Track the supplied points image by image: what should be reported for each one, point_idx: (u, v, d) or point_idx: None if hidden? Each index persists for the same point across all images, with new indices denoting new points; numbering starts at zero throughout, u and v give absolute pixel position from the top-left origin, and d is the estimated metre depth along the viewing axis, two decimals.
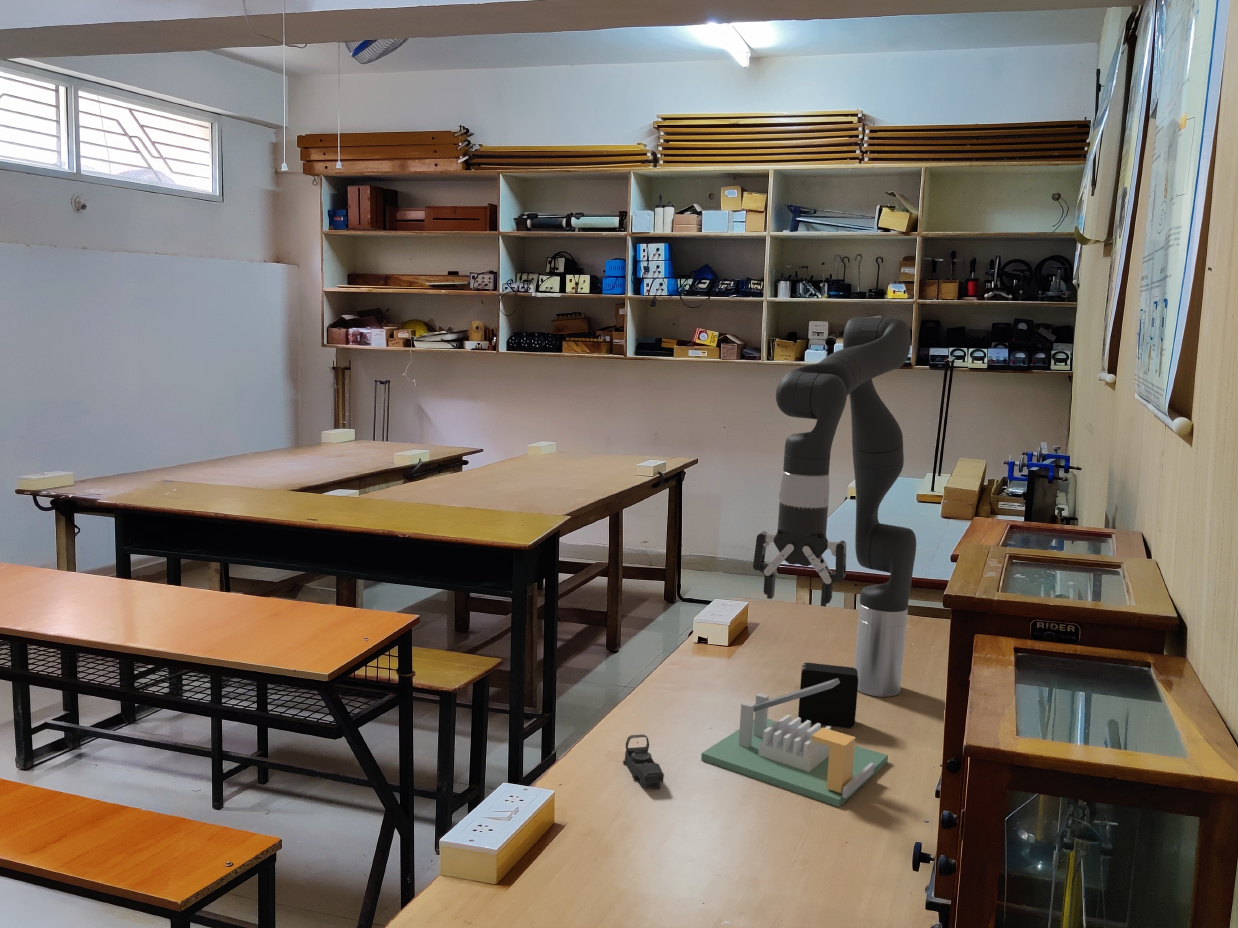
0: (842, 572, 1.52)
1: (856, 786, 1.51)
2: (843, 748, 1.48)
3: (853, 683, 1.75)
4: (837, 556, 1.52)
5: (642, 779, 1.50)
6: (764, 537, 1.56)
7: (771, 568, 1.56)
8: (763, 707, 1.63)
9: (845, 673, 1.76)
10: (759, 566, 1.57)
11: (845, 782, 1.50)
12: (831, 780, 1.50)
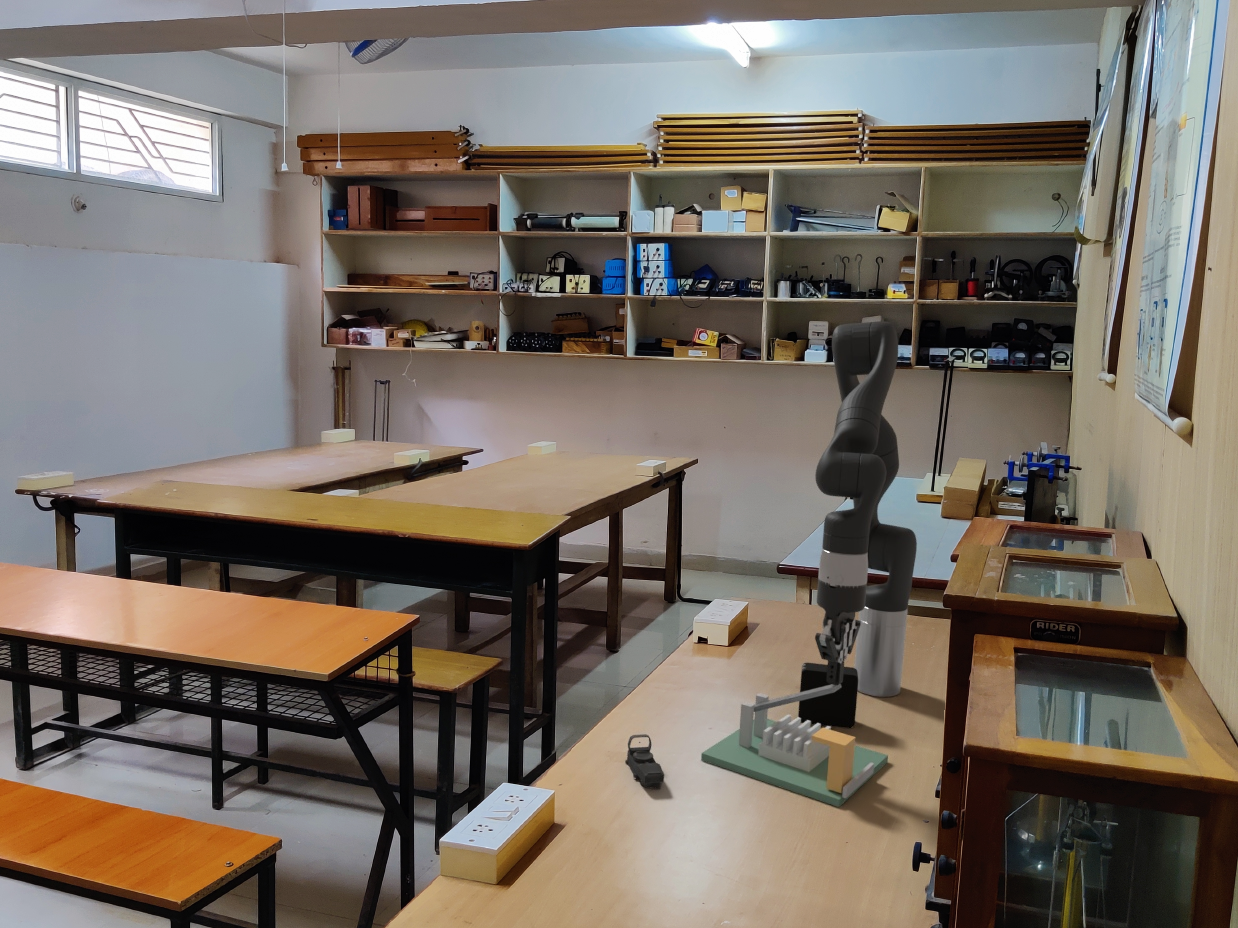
0: (852, 647, 1.59)
1: (856, 786, 1.51)
2: (843, 748, 1.48)
3: (853, 683, 1.75)
4: (856, 631, 1.60)
5: (642, 779, 1.50)
6: (830, 636, 1.52)
7: (841, 654, 1.56)
8: (763, 708, 1.63)
9: (845, 673, 1.76)
10: (838, 657, 1.55)
11: (845, 782, 1.50)
12: (831, 780, 1.50)
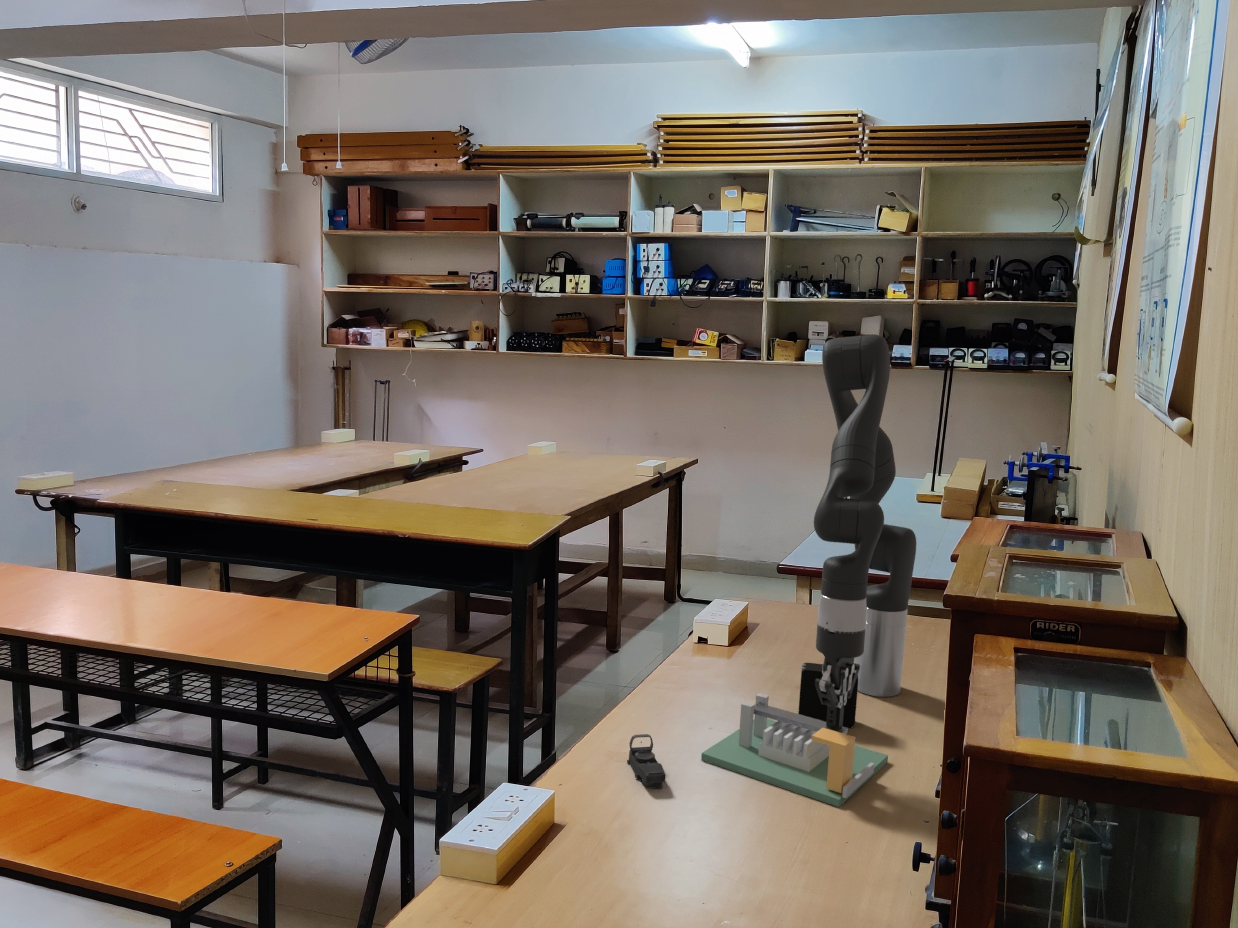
0: (852, 690, 1.60)
1: (856, 786, 1.51)
2: (843, 748, 1.48)
3: None
4: (855, 675, 1.60)
5: (644, 779, 1.50)
6: (829, 681, 1.53)
7: (841, 699, 1.56)
8: (764, 715, 1.63)
9: None
10: (837, 702, 1.55)
11: (845, 782, 1.50)
12: (831, 780, 1.50)
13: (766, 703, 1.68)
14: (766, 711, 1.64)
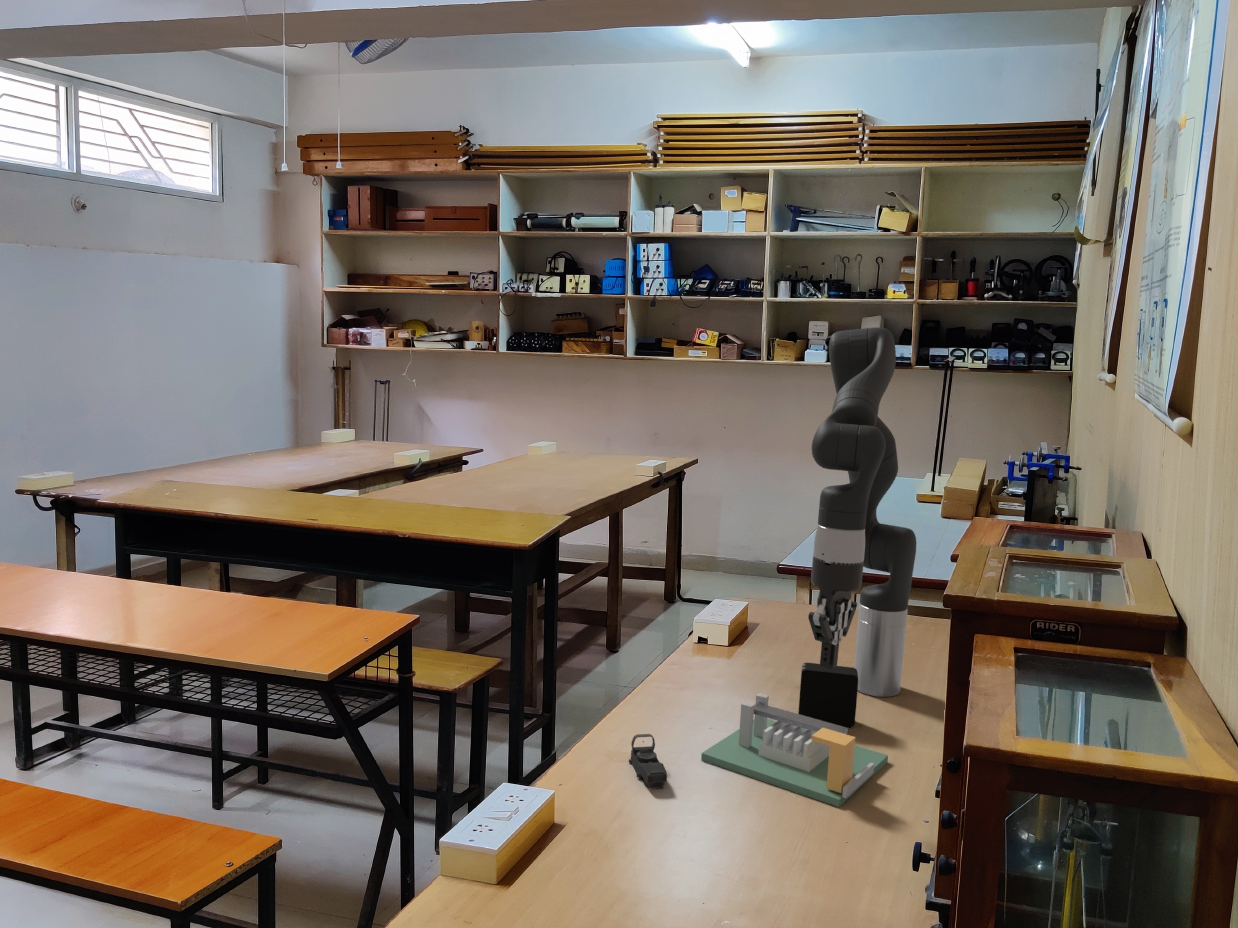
0: (848, 629, 1.52)
1: (856, 786, 1.51)
2: (843, 748, 1.48)
3: (853, 683, 1.75)
4: (852, 612, 1.53)
5: (645, 778, 1.50)
6: (824, 615, 1.45)
7: (836, 635, 1.49)
8: (764, 715, 1.63)
9: (845, 673, 1.76)
10: (832, 638, 1.48)
11: (845, 782, 1.50)
12: (831, 780, 1.50)
13: (766, 703, 1.68)
14: (766, 711, 1.64)
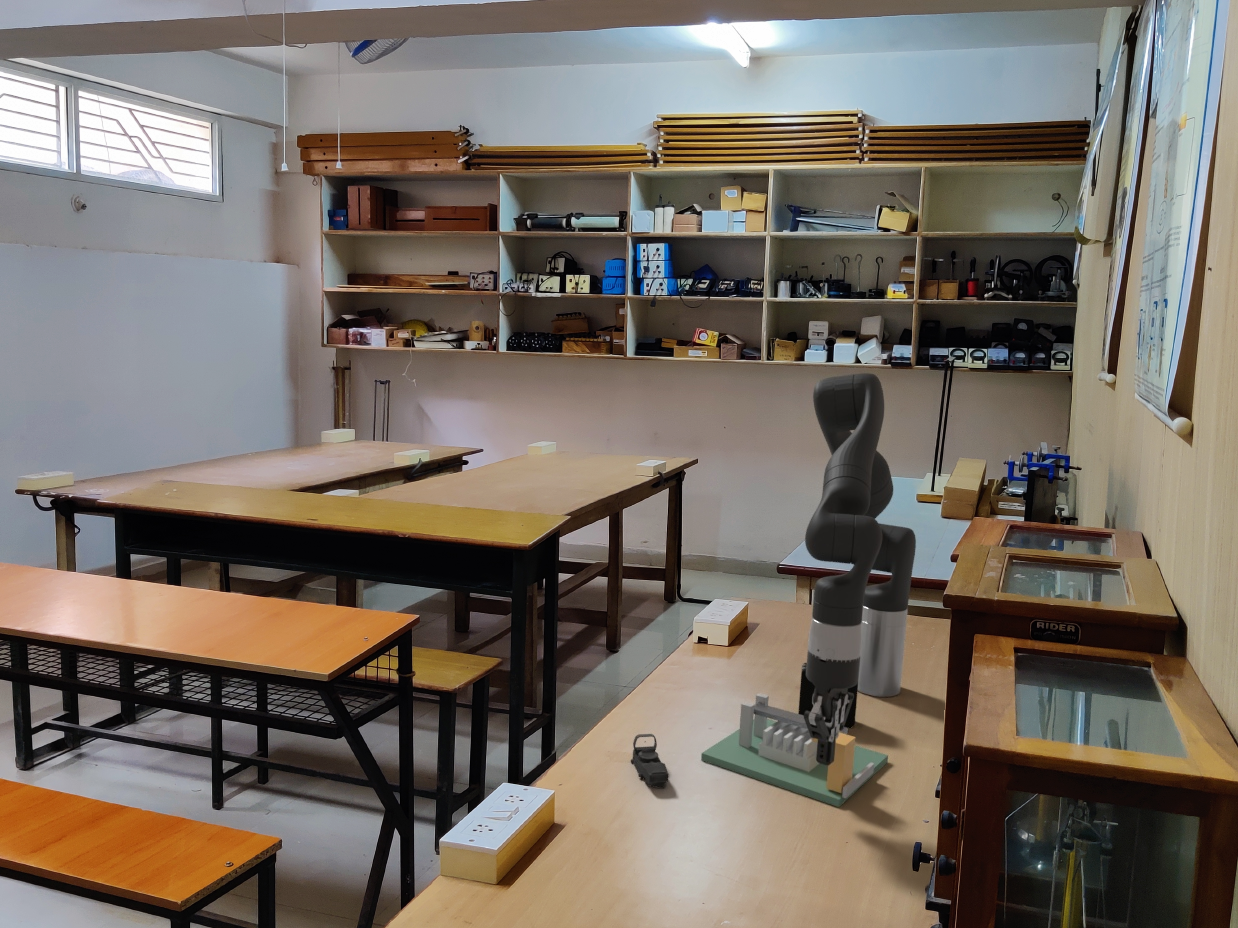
0: (844, 722, 1.47)
1: (856, 786, 1.51)
2: (843, 748, 1.48)
3: None
4: (848, 705, 1.47)
5: (647, 778, 1.50)
6: (820, 714, 1.39)
7: (832, 732, 1.43)
8: (764, 715, 1.63)
9: None
10: (828, 736, 1.42)
11: (845, 782, 1.50)
12: (831, 780, 1.50)
13: (766, 703, 1.68)
14: (766, 711, 1.64)
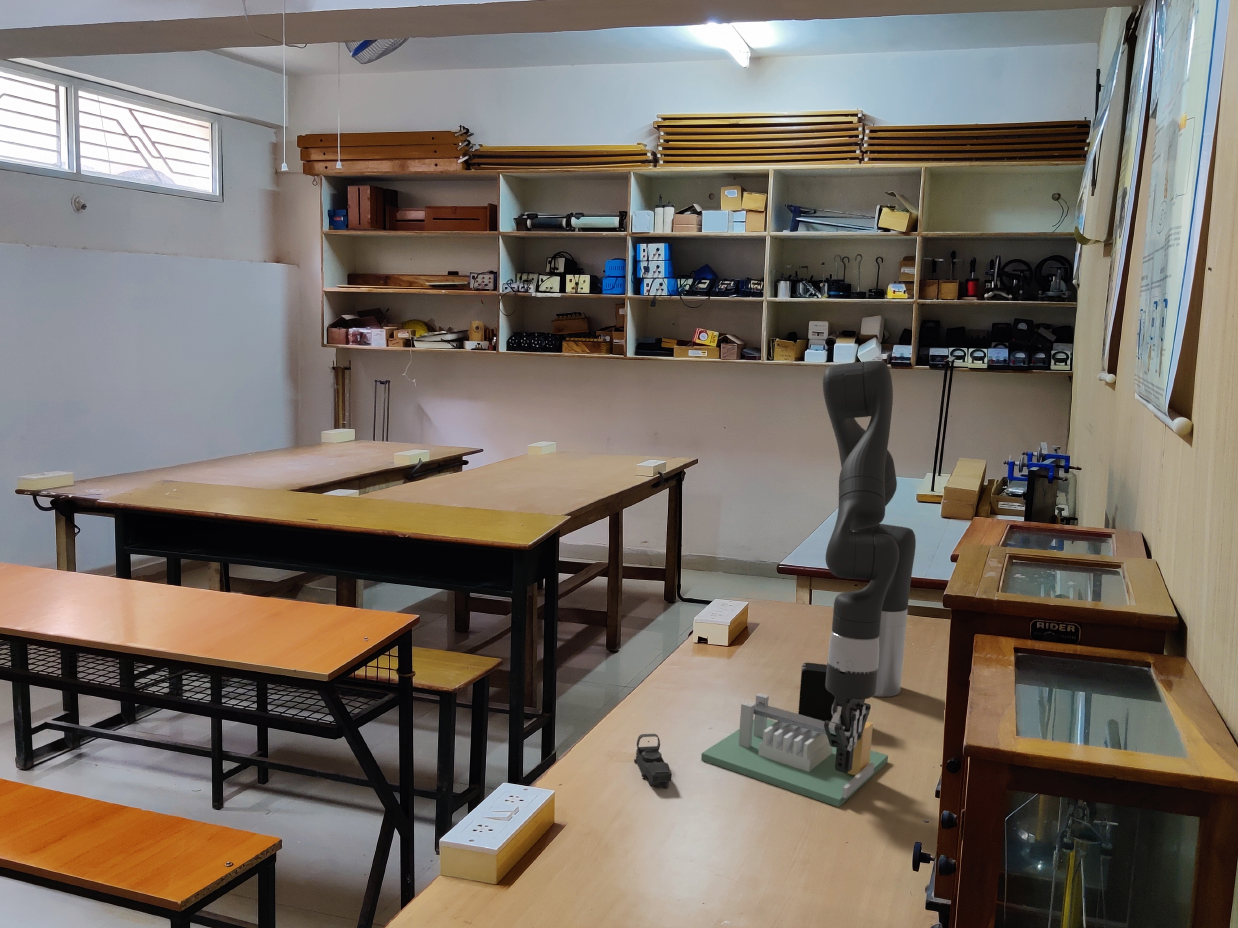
0: (862, 732, 1.53)
1: (856, 786, 1.51)
2: None
3: None
4: (865, 715, 1.54)
5: (650, 778, 1.51)
6: (839, 724, 1.46)
7: (851, 741, 1.50)
8: (764, 715, 1.63)
9: None
10: (847, 744, 1.49)
11: (863, 766, 1.55)
12: None
13: (766, 703, 1.68)
14: (766, 711, 1.64)
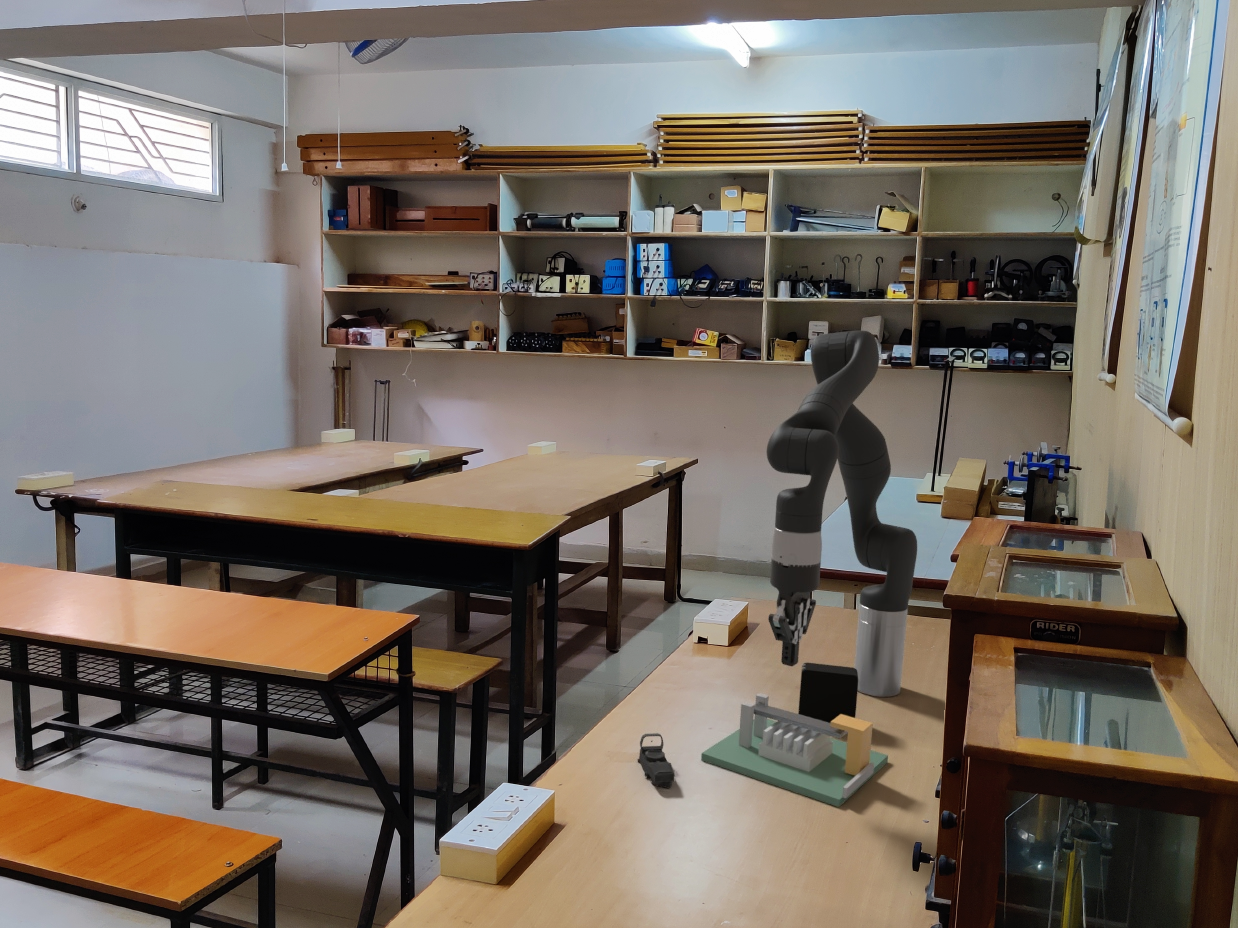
0: (807, 626, 1.56)
1: (856, 786, 1.51)
2: (861, 733, 1.54)
3: (853, 683, 1.75)
4: (811, 610, 1.56)
5: (653, 777, 1.51)
6: (783, 616, 1.49)
7: (796, 635, 1.53)
8: (764, 715, 1.63)
9: (845, 673, 1.76)
10: (792, 637, 1.52)
11: (863, 766, 1.55)
12: (849, 764, 1.55)
13: (766, 703, 1.68)
14: (766, 711, 1.64)
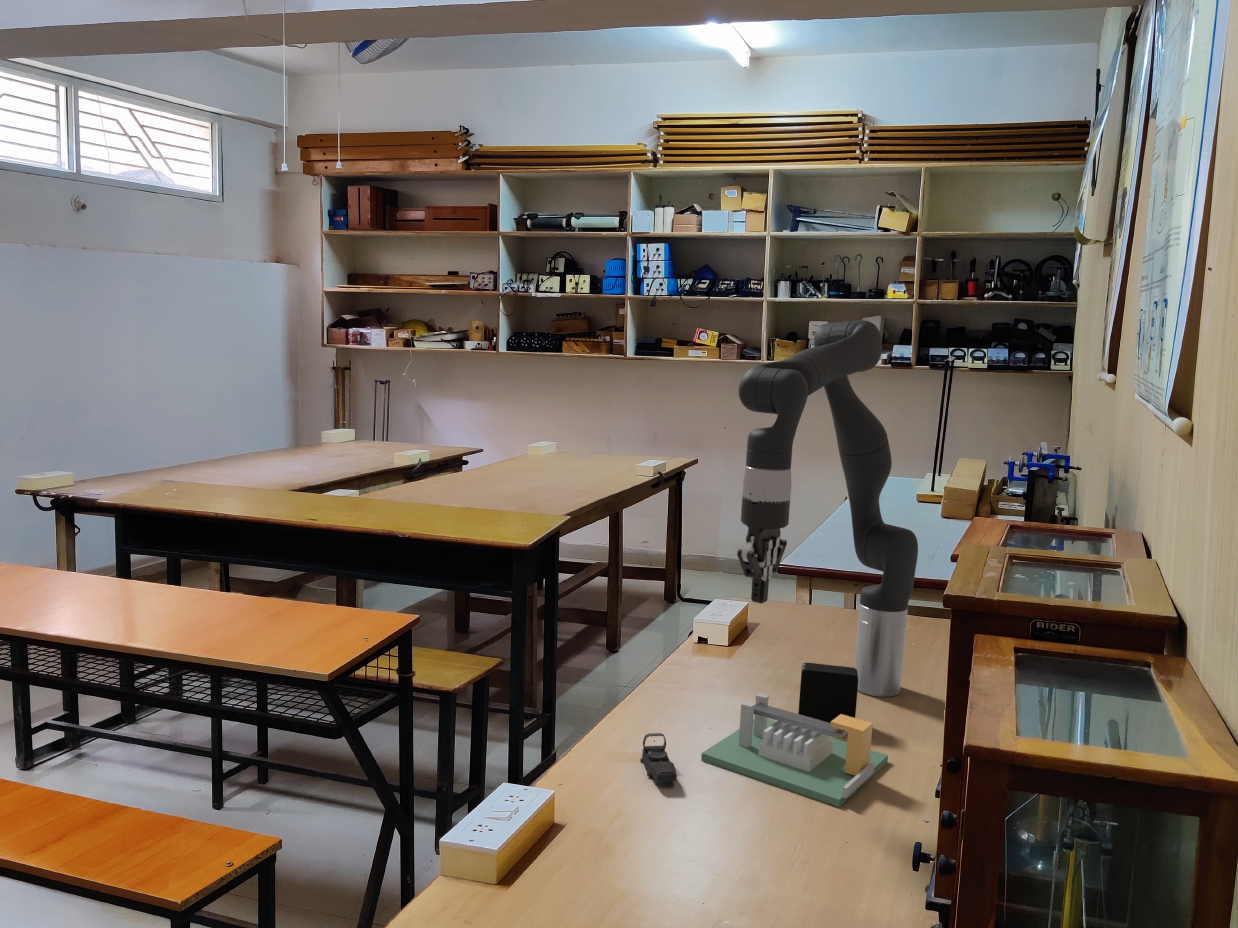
0: None
1: (856, 786, 1.51)
2: (861, 733, 1.54)
3: (853, 683, 1.75)
4: (781, 550, 1.60)
5: (655, 777, 1.51)
6: None
7: (765, 572, 1.56)
8: (764, 715, 1.63)
9: (845, 673, 1.76)
10: (761, 574, 1.55)
11: (863, 766, 1.55)
12: (849, 764, 1.55)
13: (766, 703, 1.68)
14: (766, 711, 1.64)
